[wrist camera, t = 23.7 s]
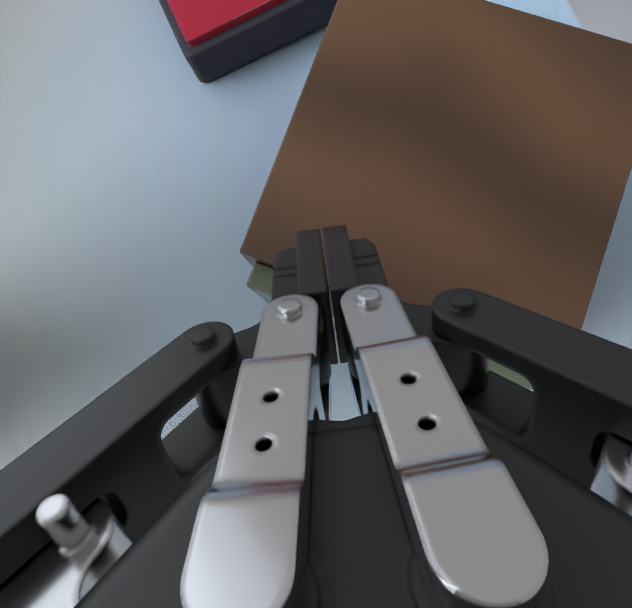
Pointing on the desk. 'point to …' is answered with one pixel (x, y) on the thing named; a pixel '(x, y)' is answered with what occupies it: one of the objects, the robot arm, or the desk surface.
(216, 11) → the calculator
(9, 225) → the desk surface
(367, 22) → the cabinet
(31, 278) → the desk surface
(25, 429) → the desk surface
